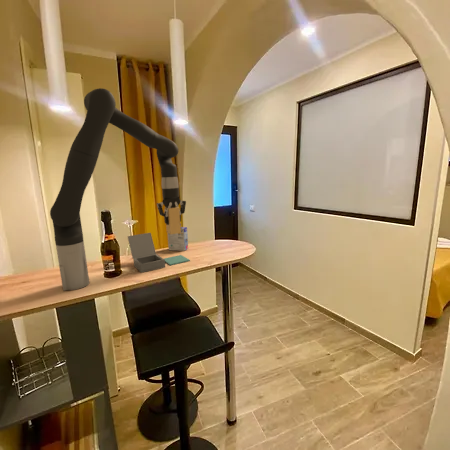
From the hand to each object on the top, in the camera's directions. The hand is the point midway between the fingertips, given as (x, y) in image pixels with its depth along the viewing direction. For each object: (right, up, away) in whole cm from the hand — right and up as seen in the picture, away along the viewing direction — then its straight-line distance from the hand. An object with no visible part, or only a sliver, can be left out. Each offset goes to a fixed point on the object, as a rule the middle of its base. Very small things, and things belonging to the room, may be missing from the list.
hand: (173, 223), depth 128 cm
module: (0, -4, +1) cm, 4 cm away
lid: (-15, -10, +2) cm, 19 cm away
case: (-10, -20, -3) cm, 22 cm away
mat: (+1, -18, +4) cm, 18 cm away
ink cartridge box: (-1, -14, +22) cm, 27 cm away
